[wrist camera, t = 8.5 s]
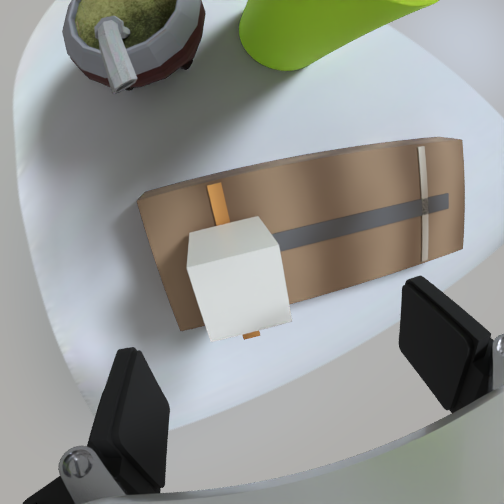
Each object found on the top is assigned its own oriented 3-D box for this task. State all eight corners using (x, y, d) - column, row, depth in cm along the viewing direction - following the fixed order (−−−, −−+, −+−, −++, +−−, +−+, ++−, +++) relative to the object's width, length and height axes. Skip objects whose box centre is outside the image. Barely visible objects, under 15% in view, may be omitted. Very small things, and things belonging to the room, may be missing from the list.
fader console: (437, 136, 22) (485, 142, 16) (441, 237, 25) (482, 259, 20) (145, 191, 20) (127, 211, 15) (181, 308, 23) (179, 354, 18)
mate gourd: (132, -7, 15) (66, -149, 1) (233, 31, 17) (301, -120, 3) (77, 84, 16) (-84, 36, 3) (178, 126, 19) (124, 97, 5)
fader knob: (258, 215, 18) (279, 244, 13) (270, 277, 20) (292, 321, 15) (189, 232, 18) (186, 267, 13) (207, 293, 19) (210, 342, 15)
